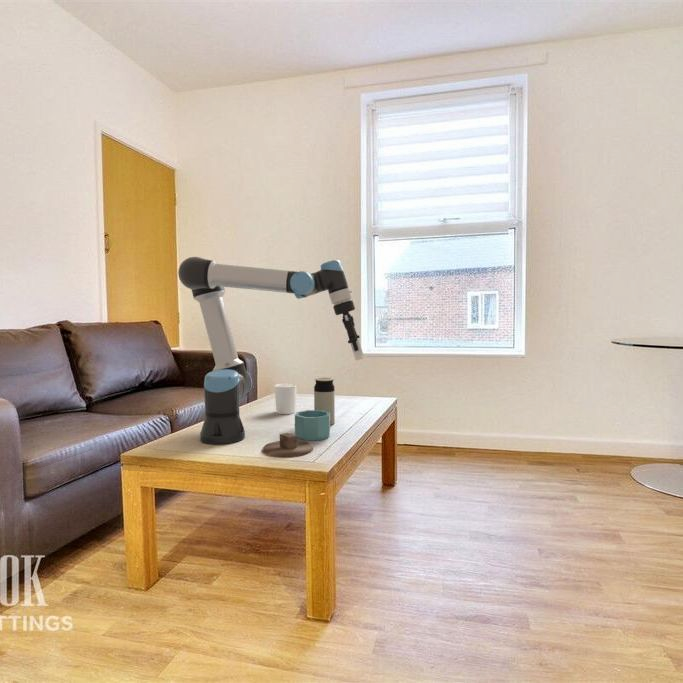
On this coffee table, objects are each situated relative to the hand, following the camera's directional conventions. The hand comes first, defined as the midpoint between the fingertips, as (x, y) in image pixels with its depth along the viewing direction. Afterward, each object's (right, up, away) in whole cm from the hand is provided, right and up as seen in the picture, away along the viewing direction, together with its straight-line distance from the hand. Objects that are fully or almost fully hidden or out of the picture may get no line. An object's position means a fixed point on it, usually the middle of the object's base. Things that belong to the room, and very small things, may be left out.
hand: (359, 357), depth 173 cm
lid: (-24, -29, -21) cm, 43 cm away
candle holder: (-31, -25, +33) cm, 52 cm away
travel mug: (-13, -27, +13) cm, 32 cm away
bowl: (-17, -28, -5) cm, 33 cm away
